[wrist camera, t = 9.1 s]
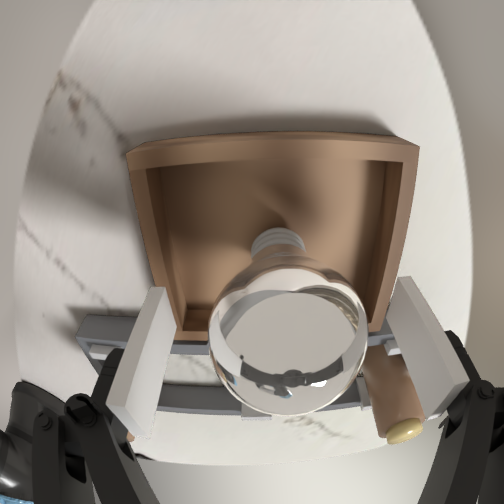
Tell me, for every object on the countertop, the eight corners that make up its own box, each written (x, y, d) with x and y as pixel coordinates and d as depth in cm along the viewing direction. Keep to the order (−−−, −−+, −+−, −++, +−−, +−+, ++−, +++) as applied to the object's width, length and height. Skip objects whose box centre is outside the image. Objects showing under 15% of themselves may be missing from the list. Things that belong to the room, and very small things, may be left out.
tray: (179, 313, 24) (172, 339, 21) (144, 142, 17) (125, 153, 14) (369, 305, 23) (379, 330, 21) (397, 136, 16) (419, 146, 14)
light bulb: (224, 187, 18) (186, 340, 7) (336, 195, 18) (422, 340, 8) (223, 279, 21) (203, 438, 11) (318, 284, 22) (354, 436, 11)
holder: (126, 385, 31) (118, 412, 27) (86, 314, 25) (70, 344, 21) (389, 379, 30) (398, 406, 26) (422, 304, 24) (440, 335, 20)
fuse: (354, 366, 28) (374, 451, 19) (363, 339, 26) (390, 431, 17) (391, 361, 28) (417, 439, 19) (403, 334, 26) (437, 418, 17)
